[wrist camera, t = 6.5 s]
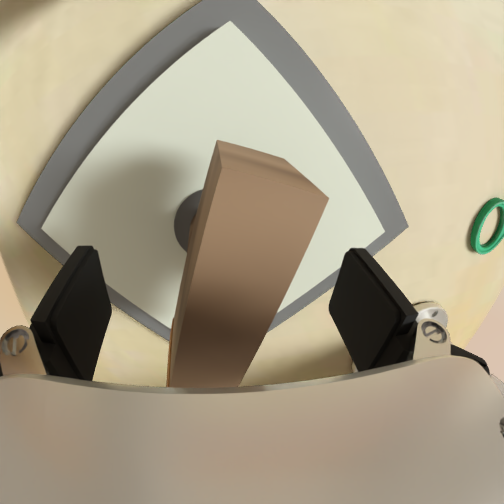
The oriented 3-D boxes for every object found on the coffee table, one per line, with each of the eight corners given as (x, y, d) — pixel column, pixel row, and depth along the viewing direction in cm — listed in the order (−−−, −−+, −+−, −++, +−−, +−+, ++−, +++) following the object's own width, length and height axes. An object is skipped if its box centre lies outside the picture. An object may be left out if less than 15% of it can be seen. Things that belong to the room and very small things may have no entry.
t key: (214, 130, 11) (219, 167, 5) (269, 146, 11) (332, 199, 6) (173, 299, 15) (165, 406, 9) (216, 306, 16) (225, 411, 10)
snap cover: (396, 217, 18) (418, 234, 15) (212, 351, 22) (213, 378, 20) (231, -10, 9) (237, -29, 7) (27, 212, 13) (6, 231, 11)
